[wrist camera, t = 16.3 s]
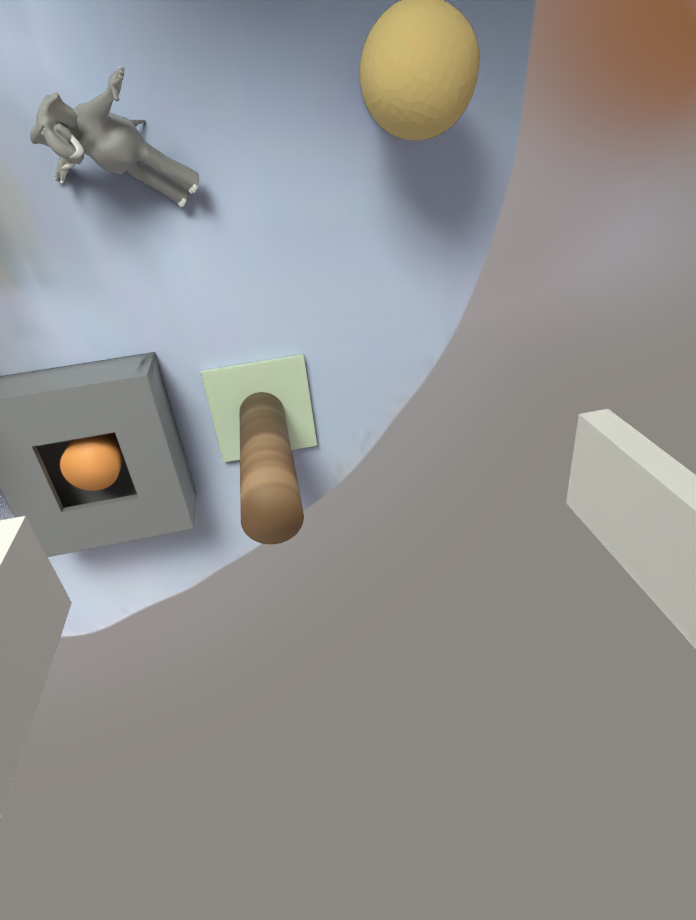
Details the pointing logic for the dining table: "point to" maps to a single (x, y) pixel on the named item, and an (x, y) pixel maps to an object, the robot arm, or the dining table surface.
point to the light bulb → (419, 68)
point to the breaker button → (92, 462)
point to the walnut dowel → (267, 472)
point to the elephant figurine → (108, 142)
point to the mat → (262, 376)
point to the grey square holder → (84, 415)
